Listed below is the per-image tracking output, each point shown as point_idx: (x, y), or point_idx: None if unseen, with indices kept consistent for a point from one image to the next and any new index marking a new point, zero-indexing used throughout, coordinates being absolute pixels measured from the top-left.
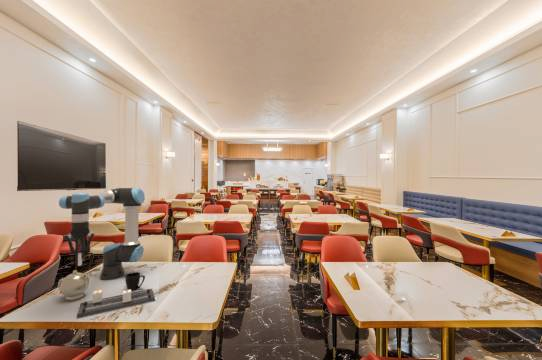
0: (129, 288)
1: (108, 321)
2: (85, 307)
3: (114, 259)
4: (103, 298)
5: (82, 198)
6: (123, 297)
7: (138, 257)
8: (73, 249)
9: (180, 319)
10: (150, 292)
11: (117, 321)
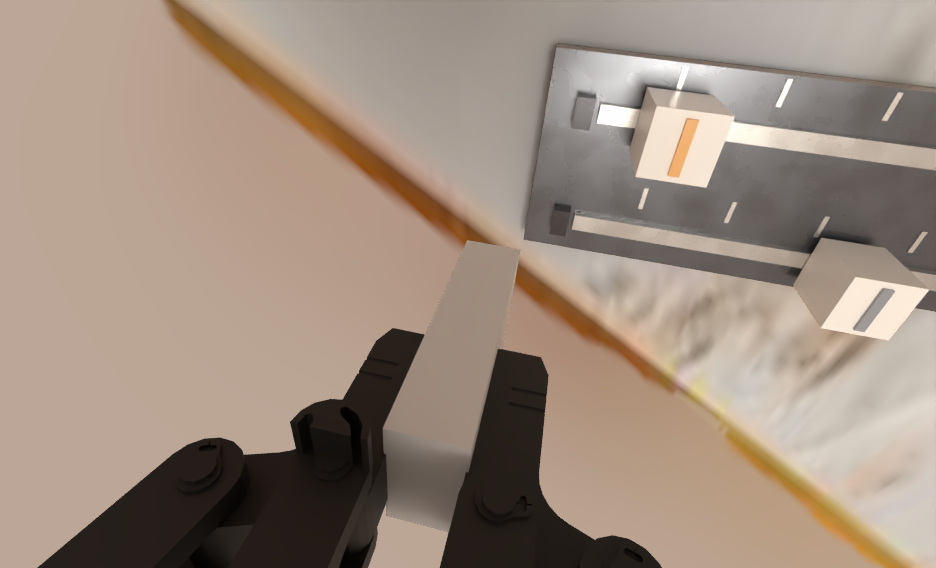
0: None
1: (651, 360)
2: (575, 169)
3: None
4: (729, 69)
5: None
6: (812, 309)
7: None
8: (180, 547)
9: (899, 531)
10: None
11: (684, 385)
